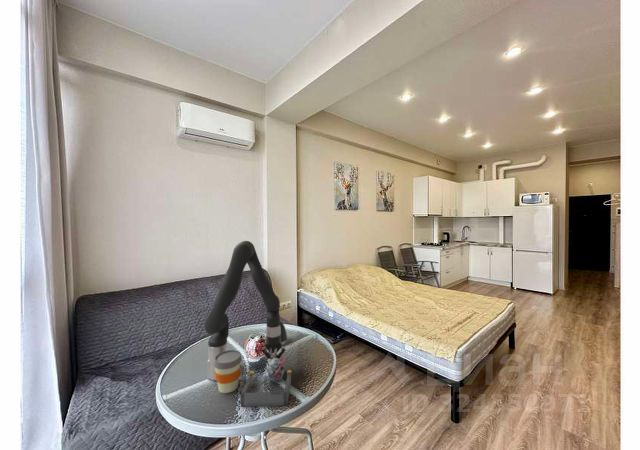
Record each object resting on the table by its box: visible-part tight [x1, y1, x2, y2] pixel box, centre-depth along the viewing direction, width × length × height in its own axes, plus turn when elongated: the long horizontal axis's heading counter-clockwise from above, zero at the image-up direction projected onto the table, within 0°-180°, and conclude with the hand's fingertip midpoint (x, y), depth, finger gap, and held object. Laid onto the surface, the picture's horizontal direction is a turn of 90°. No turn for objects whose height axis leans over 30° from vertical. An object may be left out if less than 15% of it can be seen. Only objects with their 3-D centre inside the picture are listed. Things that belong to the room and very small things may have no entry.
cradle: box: [240, 369, 292, 408], centre depth 118 cm, size 20×17×6 cm
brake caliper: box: [266, 356, 287, 382], centre depth 129 cm, size 11×11×12 cm
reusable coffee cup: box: [214, 349, 243, 394], centre depth 123 cm, size 12×13×15 cm
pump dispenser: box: [280, 320, 288, 346], centre depth 166 cm, size 10×10×15 cm
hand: (274, 365), depth 136 cm, fingers closed
